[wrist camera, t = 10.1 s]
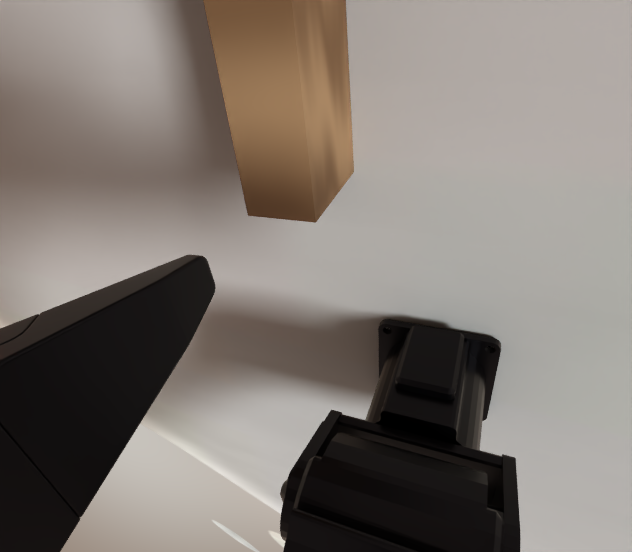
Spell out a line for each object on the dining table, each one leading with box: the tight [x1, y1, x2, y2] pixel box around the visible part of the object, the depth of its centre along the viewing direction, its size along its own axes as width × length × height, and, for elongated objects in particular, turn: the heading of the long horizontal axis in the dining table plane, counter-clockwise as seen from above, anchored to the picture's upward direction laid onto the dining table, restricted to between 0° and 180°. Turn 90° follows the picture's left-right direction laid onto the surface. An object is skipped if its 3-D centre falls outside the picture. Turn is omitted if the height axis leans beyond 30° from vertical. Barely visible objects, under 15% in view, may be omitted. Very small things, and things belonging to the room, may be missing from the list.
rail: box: [203, 0, 354, 222], centre depth 15 cm, size 14×3×5 cm, turn 6°
